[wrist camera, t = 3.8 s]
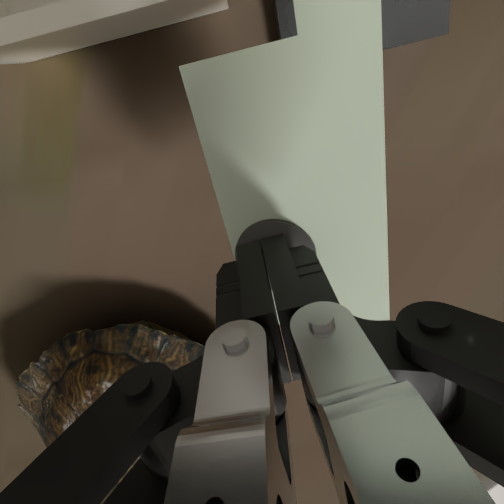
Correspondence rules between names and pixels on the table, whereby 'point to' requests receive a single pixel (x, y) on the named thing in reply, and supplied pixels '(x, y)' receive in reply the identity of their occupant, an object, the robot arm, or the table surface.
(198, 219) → the table surface
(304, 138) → the lever
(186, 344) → the turtle shell
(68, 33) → the white open box
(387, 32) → the fulcrum
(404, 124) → the table surface
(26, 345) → the table surface
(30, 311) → the table surface
